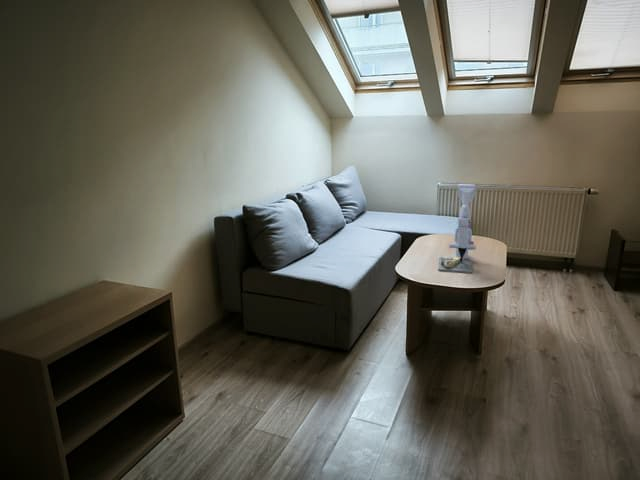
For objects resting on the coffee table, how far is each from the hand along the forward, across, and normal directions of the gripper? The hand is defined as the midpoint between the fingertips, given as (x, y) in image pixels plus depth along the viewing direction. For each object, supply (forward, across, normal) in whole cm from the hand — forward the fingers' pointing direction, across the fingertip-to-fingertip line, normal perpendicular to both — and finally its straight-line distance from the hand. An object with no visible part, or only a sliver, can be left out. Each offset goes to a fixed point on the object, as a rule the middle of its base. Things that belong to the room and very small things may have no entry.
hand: (461, 260), depth 260 cm
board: (+2, -4, -5) cm, 6 cm away
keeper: (+1, -8, -6) cm, 10 cm away
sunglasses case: (+3, +5, +40) cm, 40 cm away
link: (+1, -5, -5) cm, 7 cm away
